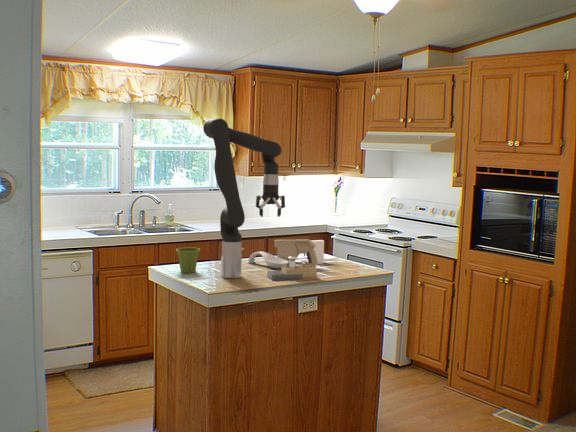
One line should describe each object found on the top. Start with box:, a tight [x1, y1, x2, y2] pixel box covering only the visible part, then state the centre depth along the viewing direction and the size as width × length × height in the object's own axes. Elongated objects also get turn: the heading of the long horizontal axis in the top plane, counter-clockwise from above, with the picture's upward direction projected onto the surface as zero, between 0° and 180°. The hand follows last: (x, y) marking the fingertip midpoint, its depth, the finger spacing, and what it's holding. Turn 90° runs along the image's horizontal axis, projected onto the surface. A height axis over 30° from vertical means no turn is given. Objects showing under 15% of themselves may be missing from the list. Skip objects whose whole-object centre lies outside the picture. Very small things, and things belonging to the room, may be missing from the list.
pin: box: [288, 256, 297, 268], centre depth 286 cm, size 4×4×10 cm
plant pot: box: [175, 247, 201, 274], centre depth 294 cm, size 12×12×11 cm
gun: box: [273, 239, 318, 268], centre depth 315 cm, size 24×3×15 cm, turn 59°
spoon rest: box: [247, 251, 289, 269], centre depth 314 cm, size 24×12×7 cm, turn 55°
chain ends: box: [266, 265, 318, 281], centre depth 286 cm, size 22×9×5 cm, turn 106°
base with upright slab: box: [306, 239, 325, 265], centre depth 327 cm, size 9×9×12 cm
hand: (270, 216), depth 294 cm, fingers open, 8 cm apart
